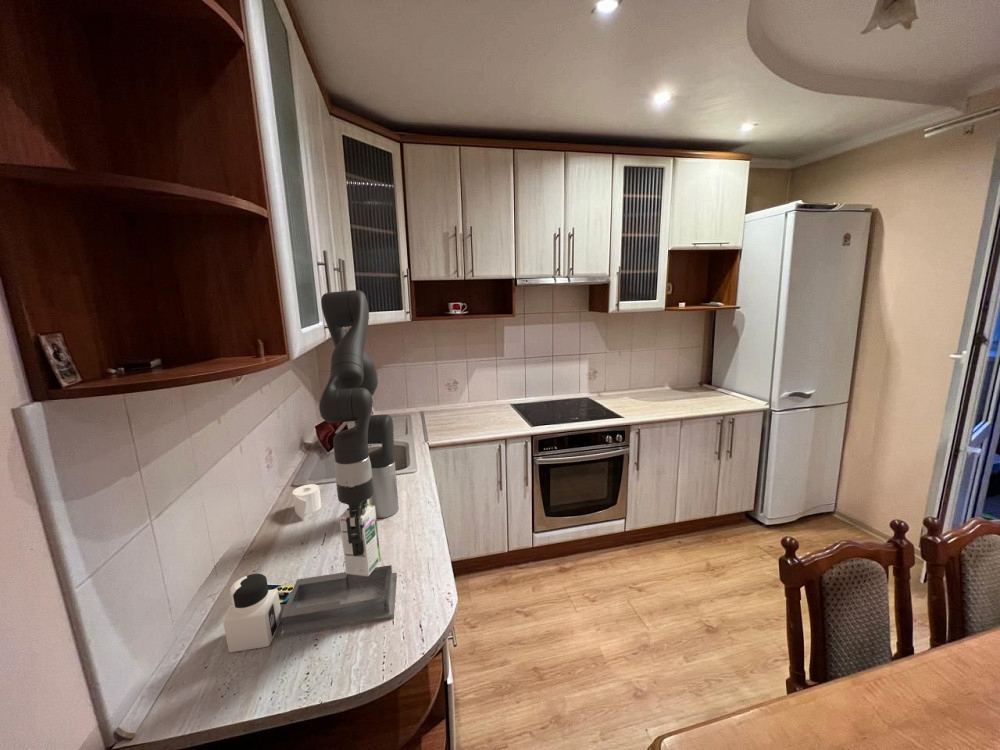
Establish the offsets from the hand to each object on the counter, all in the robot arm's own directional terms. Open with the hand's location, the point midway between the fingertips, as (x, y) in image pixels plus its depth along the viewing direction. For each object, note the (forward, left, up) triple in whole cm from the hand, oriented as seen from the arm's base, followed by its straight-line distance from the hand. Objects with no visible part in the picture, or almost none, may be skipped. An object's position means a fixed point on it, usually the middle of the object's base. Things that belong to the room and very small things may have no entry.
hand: (361, 544), depth 92 cm
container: (+5, -22, -15) cm, 27 cm away
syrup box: (0, 0, -6) cm, 6 cm away
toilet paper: (-48, -25, -15) cm, 56 cm away
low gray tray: (0, -5, -15) cm, 15 cm away
